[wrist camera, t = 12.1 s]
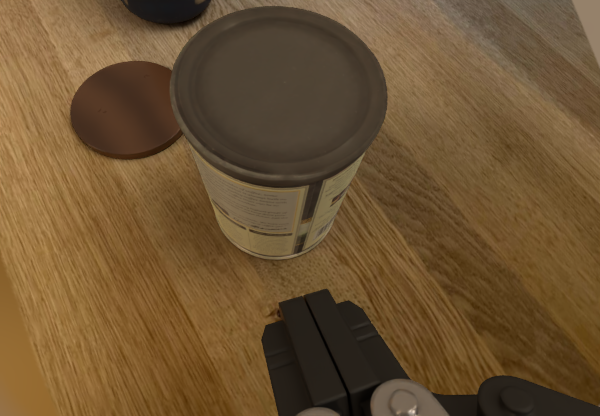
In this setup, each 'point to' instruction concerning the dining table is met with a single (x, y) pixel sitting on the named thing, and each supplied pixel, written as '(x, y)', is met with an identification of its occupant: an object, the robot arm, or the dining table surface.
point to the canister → (166, 9)
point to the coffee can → (277, 122)
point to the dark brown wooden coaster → (126, 110)
